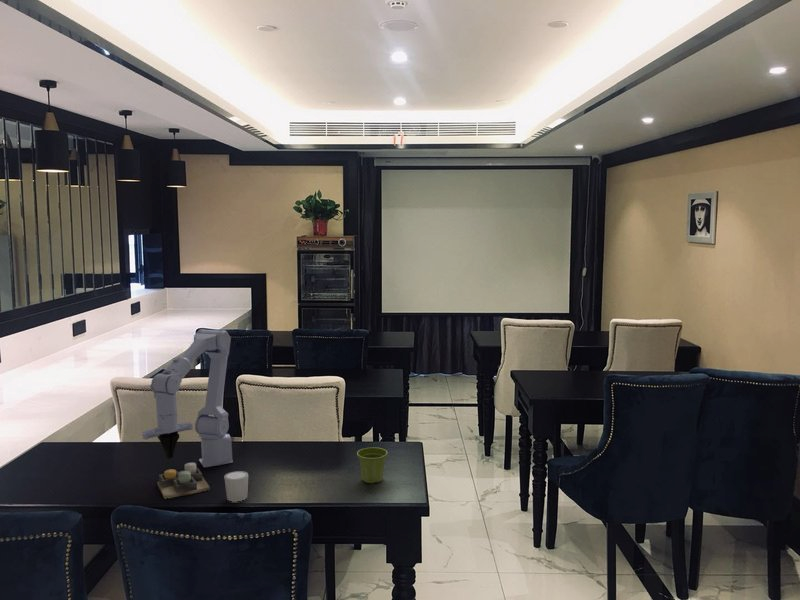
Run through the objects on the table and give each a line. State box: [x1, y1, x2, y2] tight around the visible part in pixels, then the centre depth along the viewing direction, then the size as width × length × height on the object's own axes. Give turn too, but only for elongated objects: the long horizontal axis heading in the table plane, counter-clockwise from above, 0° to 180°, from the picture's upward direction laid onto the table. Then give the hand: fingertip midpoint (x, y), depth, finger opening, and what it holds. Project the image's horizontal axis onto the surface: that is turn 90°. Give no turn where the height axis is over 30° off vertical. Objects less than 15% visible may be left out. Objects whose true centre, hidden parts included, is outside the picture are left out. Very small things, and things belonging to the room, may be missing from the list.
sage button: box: [179, 470, 191, 485], centre depth 205 cm, size 3×3×3 cm
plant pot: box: [356, 447, 388, 484], centre depth 211 cm, size 9×9×9 cm
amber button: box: [163, 468, 177, 480], centre depth 209 cm, size 3×3×3 cm
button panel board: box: [156, 467, 211, 500], centre depth 208 cm, size 13×12×3 cm
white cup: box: [223, 470, 249, 503], centre depth 199 cm, size 7×7×7 cm
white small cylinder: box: [184, 462, 197, 475], centre depth 212 cm, size 3×3×3 cm
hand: (169, 457), depth 208 cm, fingers closed
